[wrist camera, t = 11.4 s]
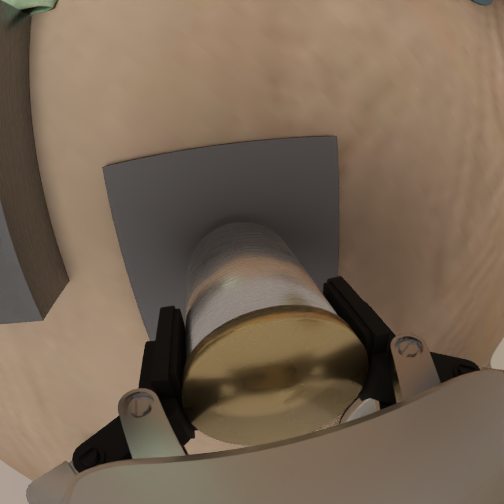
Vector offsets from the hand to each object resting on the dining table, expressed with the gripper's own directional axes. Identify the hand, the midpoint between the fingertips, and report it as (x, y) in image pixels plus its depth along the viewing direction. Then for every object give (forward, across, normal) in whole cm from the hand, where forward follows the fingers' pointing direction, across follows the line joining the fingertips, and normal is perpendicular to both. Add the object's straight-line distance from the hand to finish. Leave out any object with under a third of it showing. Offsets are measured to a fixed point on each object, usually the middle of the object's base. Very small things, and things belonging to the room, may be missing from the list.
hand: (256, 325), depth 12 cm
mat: (+7, 0, 0) cm, 7 cm away
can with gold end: (+5, 0, 0) cm, 5 cm away
